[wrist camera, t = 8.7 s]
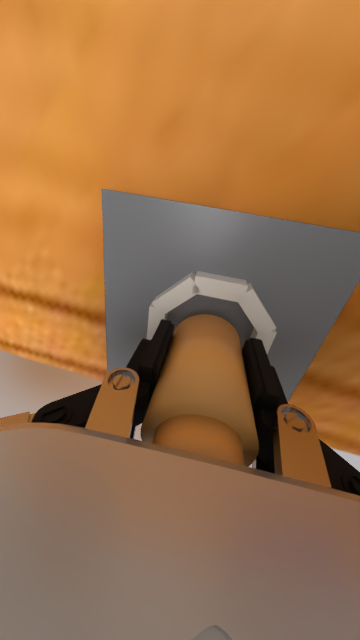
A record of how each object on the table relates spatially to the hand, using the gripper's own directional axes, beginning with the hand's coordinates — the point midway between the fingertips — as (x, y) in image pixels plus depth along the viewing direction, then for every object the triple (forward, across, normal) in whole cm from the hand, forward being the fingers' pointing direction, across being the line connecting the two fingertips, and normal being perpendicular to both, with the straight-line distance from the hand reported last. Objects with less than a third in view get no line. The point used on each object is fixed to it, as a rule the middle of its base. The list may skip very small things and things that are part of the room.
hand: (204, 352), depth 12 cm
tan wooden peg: (+1, 0, 0) cm, 1 cm away
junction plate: (+4, 0, 0) cm, 4 cm away
